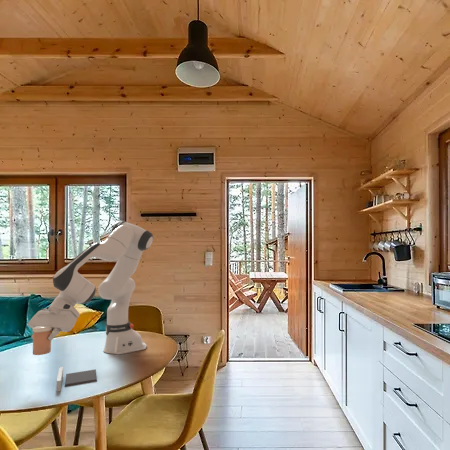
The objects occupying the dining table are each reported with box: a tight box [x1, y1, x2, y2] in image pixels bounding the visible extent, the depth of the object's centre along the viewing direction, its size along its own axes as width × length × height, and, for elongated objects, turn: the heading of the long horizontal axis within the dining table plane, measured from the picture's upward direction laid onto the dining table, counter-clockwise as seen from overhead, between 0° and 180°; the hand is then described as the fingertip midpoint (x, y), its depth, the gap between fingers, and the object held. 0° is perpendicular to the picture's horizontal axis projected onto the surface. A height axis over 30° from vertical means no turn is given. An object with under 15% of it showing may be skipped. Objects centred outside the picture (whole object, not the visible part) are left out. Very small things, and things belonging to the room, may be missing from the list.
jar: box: [32, 326, 52, 356], centre depth 132 cm, size 7×7×10 cm
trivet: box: [64, 369, 98, 387], centre depth 139 cm, size 12×12×1 cm
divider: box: [55, 366, 64, 392], centre depth 134 cm, size 2×16×4 cm, turn 23°
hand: (41, 339), depth 131 cm, fingers closed on jar, 6 cm apart
